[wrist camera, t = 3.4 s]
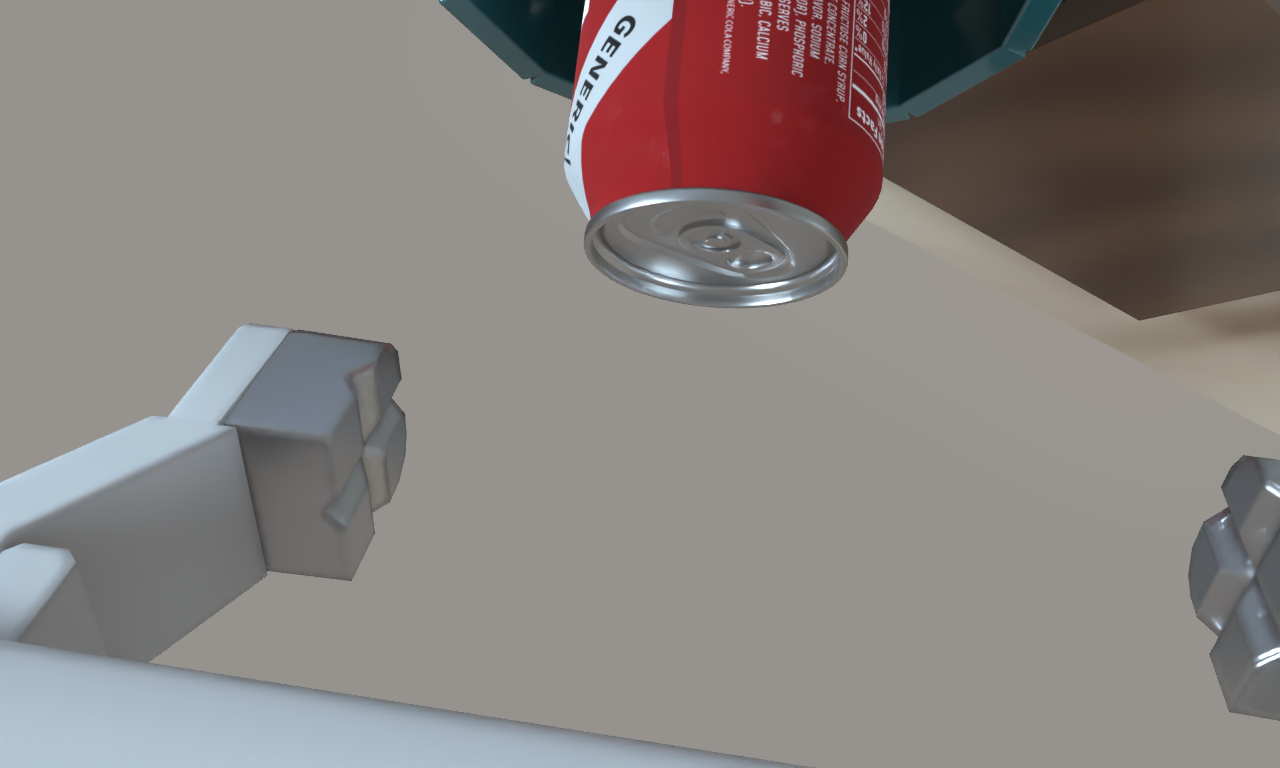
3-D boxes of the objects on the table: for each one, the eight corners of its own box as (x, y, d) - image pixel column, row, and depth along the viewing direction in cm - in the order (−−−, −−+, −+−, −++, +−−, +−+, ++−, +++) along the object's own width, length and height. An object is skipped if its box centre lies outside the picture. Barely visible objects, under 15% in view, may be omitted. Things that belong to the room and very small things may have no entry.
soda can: (777, -390, 22) (731, 148, 19) (953, -185, 26) (943, 281, 23) (556, -216, 27) (487, 240, 23) (738, -66, 31) (702, 336, 28)
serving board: (1498, 214, 42) (1502, 243, 41) (1138, 297, 52) (1139, 321, 52) (1226, -75, 29) (1228, -37, 29) (823, 113, 40) (821, 142, 39)
